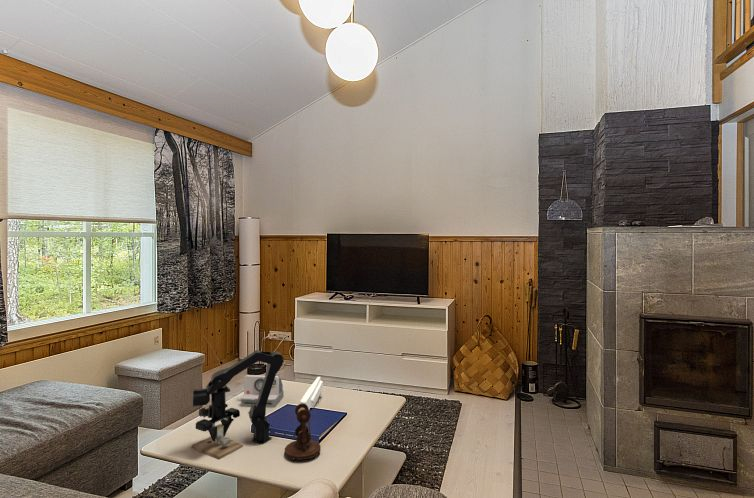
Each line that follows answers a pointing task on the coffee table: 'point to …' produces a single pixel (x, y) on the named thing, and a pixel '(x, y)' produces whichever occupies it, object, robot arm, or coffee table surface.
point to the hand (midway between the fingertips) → (218, 438)
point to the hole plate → (217, 447)
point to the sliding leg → (219, 434)
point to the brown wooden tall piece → (302, 437)
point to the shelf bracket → (313, 393)
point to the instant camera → (253, 389)
